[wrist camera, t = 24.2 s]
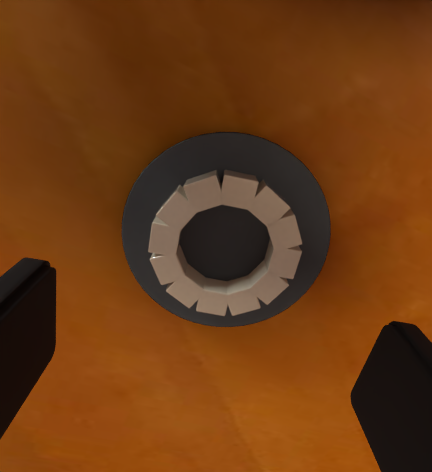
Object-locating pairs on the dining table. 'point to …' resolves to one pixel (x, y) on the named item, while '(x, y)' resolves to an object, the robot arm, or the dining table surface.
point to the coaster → (226, 221)
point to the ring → (237, 290)
